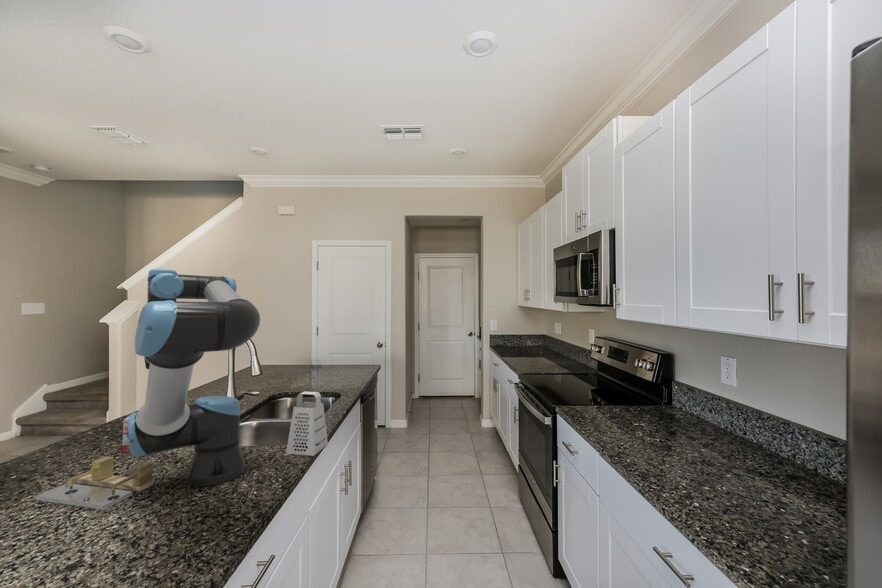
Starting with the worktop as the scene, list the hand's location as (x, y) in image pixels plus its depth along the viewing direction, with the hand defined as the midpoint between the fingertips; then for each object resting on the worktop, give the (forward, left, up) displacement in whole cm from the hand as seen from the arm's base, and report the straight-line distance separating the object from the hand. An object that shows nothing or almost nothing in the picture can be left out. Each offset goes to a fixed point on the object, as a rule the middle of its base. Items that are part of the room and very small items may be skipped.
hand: (158, 391), depth 114 cm
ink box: (+20, -12, -24) cm, 33 cm away
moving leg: (+6, +14, -22) cm, 27 cm away
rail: (+1, +14, -24) cm, 28 cm away
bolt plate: (+1, +19, -24) cm, 30 cm away
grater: (-38, -24, -24) cm, 51 cm away
